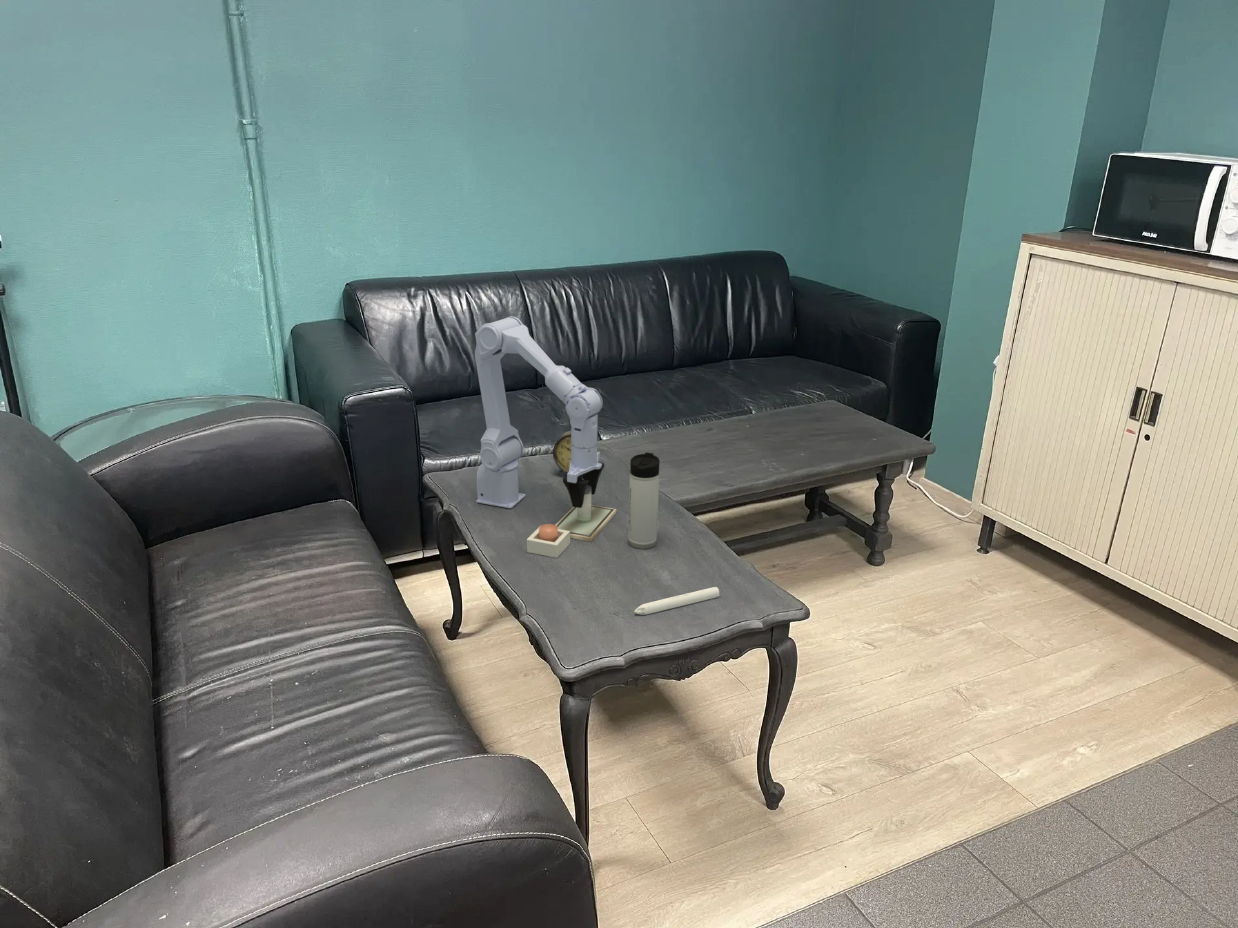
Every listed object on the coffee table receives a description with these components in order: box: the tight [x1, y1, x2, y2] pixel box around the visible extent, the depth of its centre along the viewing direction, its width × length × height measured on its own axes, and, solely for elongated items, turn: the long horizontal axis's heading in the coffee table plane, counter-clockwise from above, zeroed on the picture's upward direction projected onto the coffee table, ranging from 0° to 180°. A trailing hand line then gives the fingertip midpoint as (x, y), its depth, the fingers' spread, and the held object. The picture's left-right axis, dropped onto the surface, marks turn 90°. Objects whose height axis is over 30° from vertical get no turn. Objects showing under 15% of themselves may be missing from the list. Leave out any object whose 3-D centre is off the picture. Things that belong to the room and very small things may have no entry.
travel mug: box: [627, 452, 661, 550], centre depth 184 cm, size 6×7×20 cm
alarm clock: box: [552, 417, 571, 476], centre depth 218 cm, size 11×5×16 cm, turn 80°
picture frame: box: [555, 504, 618, 542], centre depth 195 cm, size 10×16×1 cm, turn 160°
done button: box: [538, 523, 558, 542], centre depth 183 cm, size 4×4×3 cm
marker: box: [633, 586, 720, 616], centre depth 164 cm, size 18×2×2 cm, turn 115°
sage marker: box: [577, 485, 592, 523], centre depth 194 cm, size 3×3×8 cm
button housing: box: [526, 527, 571, 559], centre depth 184 cm, size 7×7×3 cm
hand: (583, 500), depth 193 cm, fingers open, 7 cm apart
